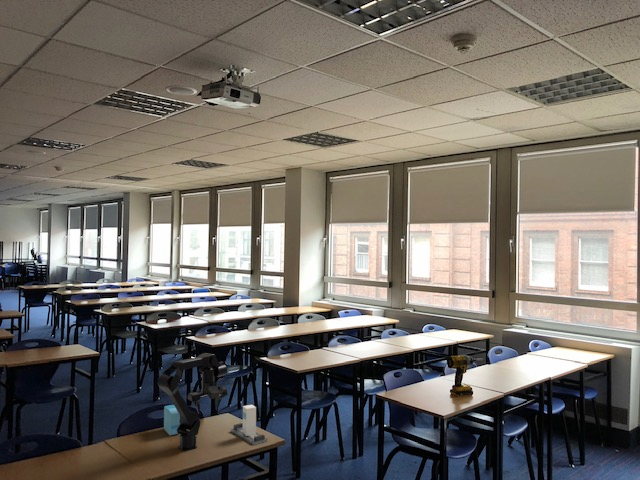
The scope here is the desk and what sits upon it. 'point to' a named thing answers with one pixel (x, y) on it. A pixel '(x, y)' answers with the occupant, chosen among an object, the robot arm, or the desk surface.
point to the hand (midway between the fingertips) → (207, 411)
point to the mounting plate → (251, 438)
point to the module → (249, 420)
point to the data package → (171, 419)
